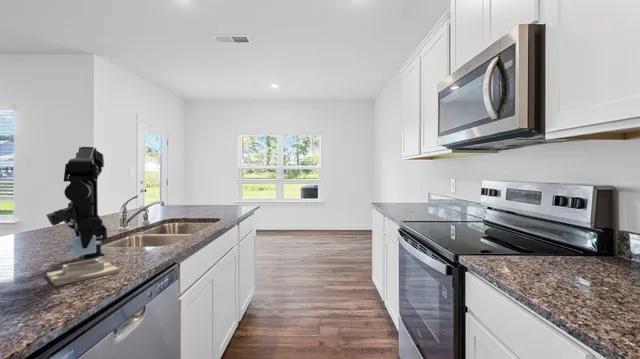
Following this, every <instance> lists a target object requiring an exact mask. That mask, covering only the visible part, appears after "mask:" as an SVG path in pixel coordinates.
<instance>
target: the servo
mask: <svg viewBox="0 0 640 359" xmlns="http://www.w3.org/2000/svg"><path fill="white" fill-rule="evenodd" d="M98 244H101V245H102V241H101V242H100V241H96V236H95V235H93V237H92V239H91V241H90V243H89V245H88V247H87V248H84V249H83V248H82V244H81V240H80V236H76V235H75V236H71V237H69V244H68V245H67V244H66V245H64V246H63V248H64V249H65V250H69V255H70V256H72V257H79V256H80V255H86V254H91V253H96V245H98ZM80 257H81V256H80Z"/></svg>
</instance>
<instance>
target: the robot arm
mask: <svg viewBox="0 0 640 359" xmlns="http://www.w3.org/2000/svg"><path fill="white" fill-rule="evenodd" d="M104 167H105V160H104V154H103V153H101V152H99V151H98V150H97V147H95V146H81V147H80V146H79V149H78V151H77V152H76V154H75V157H73V158H70V159H69V160H68V162H67V163H65V166H64V173H63V175H64V176H63V182H69V184H68V185H66V187H65V189H64V191H63V192H64V196H65V198H66V199H67V200H68V201H70V202H69V203H67V207H66V208H62V209H58V210H54V212H51V213H48V214H46V217H47V220H48V221H49V223H50V225H51V226H57V225H60V223H64V224H65V225H67V228H68V227H69V228H70V229H72V230H73V233H74V234H75V237H76V236H80V240H81V244H82V248H83V249H84V248H87V247H88V245H89V243H90V241H91V239H92V237H93V235H95V236H96V241H100V242H101V244H98V245H96V253H91V254H86V255H80V257H81V258H82V259H84V260H85V259H92V258H97V257H103V256H105V253H104V252H102V241H105V240H108V229H107V227H106V226H105V224H103V223H104V221H103V219H102V218H101V217H100V215H99V212H98V210H99V208H98V206H99V204H98V201H99V200H98V198H99V197H98V178H99V177H100V175H101V173H102V172H103V168H104ZM69 223H70V224H69Z"/></svg>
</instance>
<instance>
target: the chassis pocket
mask: <svg viewBox="0 0 640 359" xmlns="http://www.w3.org/2000/svg"><path fill="white" fill-rule="evenodd" d="M116 273H120V269H119V268H118V267H116V266H115V265H113V264H111V263H110V262H108V261H107V260H105V261H102V260H100V259H98V258H93V259H92V258H91V259H89V260H88V259H87V260H83V261H77V262H72V263H71V262H70V263H65V264H62V269H58V270H57V269H56V270H52V271H48V272H46V277H47V278H48V279H49V280H50V281H51V283H53V285H54V287H58V286H62V285H63V286H64V285H67V284H72V283H77V282H82V281H86V280H90V279H95V278H99V277H104V276H108V275H113V274H116Z"/></svg>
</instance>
